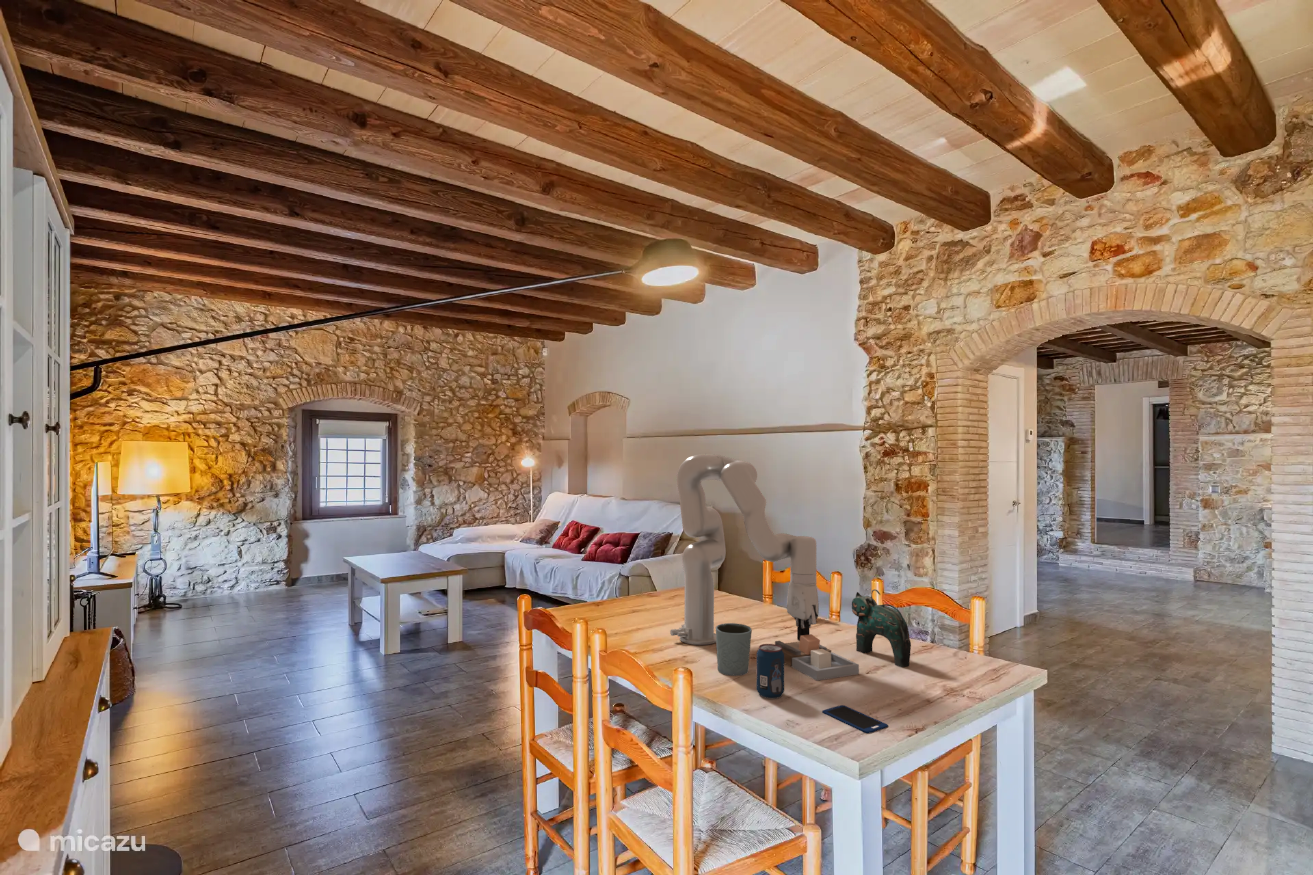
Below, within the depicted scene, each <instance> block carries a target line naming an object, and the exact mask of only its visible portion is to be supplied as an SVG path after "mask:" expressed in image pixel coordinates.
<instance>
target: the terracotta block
mask: <svg viewBox="0 0 1313 875" xmlns="http://www.w3.org/2000/svg"><path fill="white" fill-rule="evenodd" d="M820 642H821V640H820V639H819V638H818V637H816V636H815V635H814V634H810V633H809V635H802V636H800V644H799V649H800V650H801V651H803V652H804V653H805V654H807V655H809V654H811V650H817V649H819V644H820V645H821V643H820Z"/></svg>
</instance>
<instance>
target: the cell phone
mask: <svg viewBox="0 0 1313 875" xmlns="http://www.w3.org/2000/svg"><path fill="white" fill-rule="evenodd" d="M821 713H822V714H824V715H825V716H828V717H830V718H833V719H834V720H836V721H839V722H840V723H843V724H845V725H847V726H849V727H851V728H853V729H856V730H857V731H861V732H863V733H864V734H872V733H874V732H878V731H880V730H884V729H887V728H888V727H889V725H888V724H887V723H886V722H884V721H881V720H878V719H877V718H874V717H873V716H870V715H867V714H865V713H863V712H860V711H858V710H855V709H853V708H851V707H849V706H846V705H844V704H841V705H837V706H833V707H830V708H825V709H823V710H822V711H821Z"/></svg>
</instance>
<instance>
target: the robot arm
mask: <svg viewBox="0 0 1313 875" xmlns="http://www.w3.org/2000/svg"><path fill="white" fill-rule="evenodd" d="M757 480H758V472H757V469H756V468H755V466H754V465H753V464H752V463H750V462H748V461H745V460H740V459H737V458H732V457H729V456H726V455H720V454H715V453H710V454H707V453H705V454H701V453H700V454H695V455H691V456H689V457H687V458H686V459H685V460H683V462H682V463H681V464H680V465H679V467H678V470H677V473H676V484H677V491H678V496H679V505H680V506H679V507H680V516H681V524H682V529H683V532H684V534H685V535H686V536H687V537H689V538H694V539H695V538H697V539H698V541H695V542H692V543H690V544H688V545H687V546H686V547H685V548H684V550H683V552H682V555H681V564H682V569H683V576H684V622H683V623H684V624H681V627H679V628H677V629H676V628H674V629H673V628H672V629H670V630H669V632H670V636H677V637H678V638H679V640H680V641H681V642H682V643H685V644H688V645H695V646H707V645H713V644H715V643H716V632H715V585H714V583H715V582H714V577H713V572H712V569H713V568H714V569H715V568H717V567H719V566H721V565H722V564H723V562H724V561H725V558H726V555H727V554H726V552H727V551H726V550H727V549H726V541H725V540H726V539H725V533H724V532H725V531H724V524H723V520H722V516H721V514H720V513H719V512H718V510H717V509H715V508H714V507H711V506H707V499H706V493H705V489H704V487H703V486H702V482H703V481H719V482H722V483H723V485H724V486H725V488H726V489H727V492H728V493H729V495H730V496H731V497H732V499H733V501H734V503H735V504H736V506H737V507H738V509H739V511H740V513H741V514H742V517H743V519H742V520H743V523H744V527H745V531H746V534H747V536H748V539H749V540H750V541H751V544H752V545H753V547H754V549H755V550H756V552H757V553H758V555H760V557H761V558H762V559H764V560H765V561H767V562H770V563H773V562H779V561H780V560H783V559H784V560H785V559H788V558H790V581H789V584H788V587H787V588H788V589H787V595H786V596H787V597H786V611H787V614H788V615H790V616H791V618H793V619H794V620H795V626H796V630H797V631H796V632H797V633H796V634H797V636H796V637H797V638H796V640H797V642H799V641H800V636H802V635H810V629H811V628H812V625H816V624H817V619H818V618H819V604H820V603H819V594H818V585H817V541H816V538H814V537H812V536H806V535H793V534H789V533H783V532H781V533H775V534H774V532H773V530H772V529H771V527H770V525H769V523H768V521H767V518H766V515H765V510H766V506H767V499H766V497H765V496H764V495H763V493H762V491H761V490H760V489H759V486H758V485H757V484H756V482H757Z"/></svg>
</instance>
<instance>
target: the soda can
mask: <svg viewBox="0 0 1313 875" xmlns="http://www.w3.org/2000/svg"><path fill="white" fill-rule="evenodd" d="M755 680H756V682H755V683H756V687H755V688H756V691H757V693H758V695H759V696H760V697H762V698H763V699H769V700H773V699H774V700H775V699H780V698H782V696H783V694H784V692H785V663H784V653H783V651H782V647H781V646H779V645H775V643H774V644H773V643H763V644H760V645H759V646H758V650H757V652H756V678H755Z"/></svg>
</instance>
